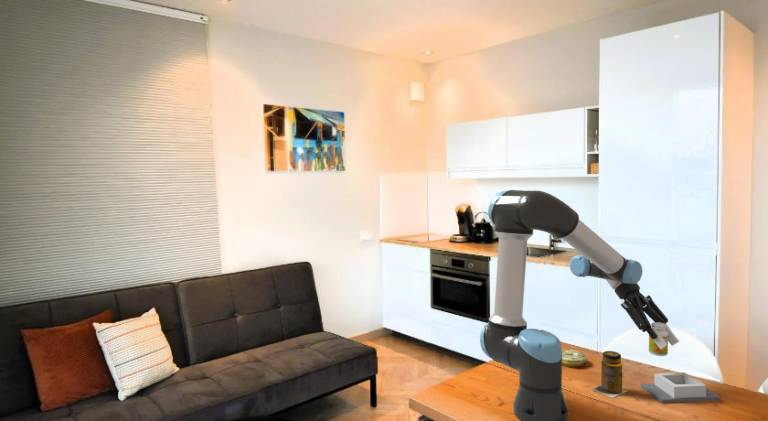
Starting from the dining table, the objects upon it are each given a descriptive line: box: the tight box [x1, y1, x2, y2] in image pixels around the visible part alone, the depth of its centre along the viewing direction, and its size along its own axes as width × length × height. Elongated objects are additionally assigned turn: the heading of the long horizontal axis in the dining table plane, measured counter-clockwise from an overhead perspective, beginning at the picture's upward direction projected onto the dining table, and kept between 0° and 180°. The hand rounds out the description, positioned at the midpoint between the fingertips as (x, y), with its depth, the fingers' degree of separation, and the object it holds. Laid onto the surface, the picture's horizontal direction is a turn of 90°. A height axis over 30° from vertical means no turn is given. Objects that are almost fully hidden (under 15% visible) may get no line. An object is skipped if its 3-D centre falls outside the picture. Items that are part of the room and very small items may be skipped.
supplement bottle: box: [648, 321, 669, 357], centre depth 155 cm, size 5×5×10 cm
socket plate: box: [640, 371, 722, 404], centre depth 149 cm, size 18×11×4 cm, turn 92°
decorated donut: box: [561, 349, 588, 368], centre depth 176 cm, size 10×11×4 cm
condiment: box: [591, 350, 629, 399], centre depth 152 cm, size 7×8×12 cm
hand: (669, 345), depth 152 cm, fingers closed on supplement bottle, 5 cm apart
